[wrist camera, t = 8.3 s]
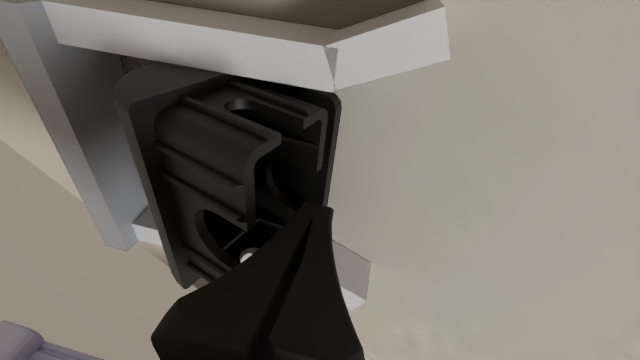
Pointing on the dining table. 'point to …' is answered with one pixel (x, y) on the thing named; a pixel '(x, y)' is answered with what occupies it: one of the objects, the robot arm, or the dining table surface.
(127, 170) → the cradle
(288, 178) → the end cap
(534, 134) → the dining table surface
